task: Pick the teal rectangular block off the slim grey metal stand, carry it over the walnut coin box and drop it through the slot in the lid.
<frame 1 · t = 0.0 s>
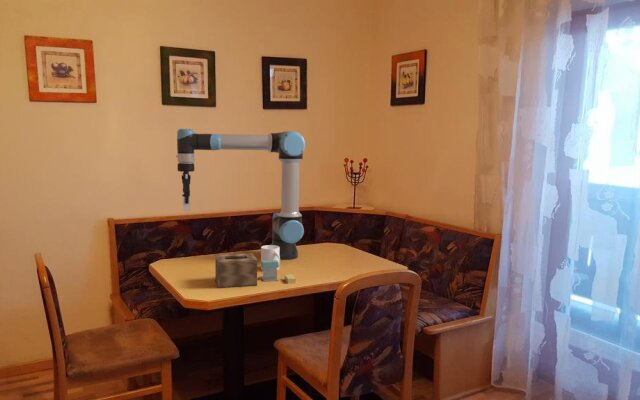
hand: (186, 208, 239), 28 cm above the table, fingers open, 13 cm apart
stand: (269, 279, 226), on the table
white rounded piece: (272, 270, 241), on the table
teal rectangular block: (269, 266, 225), point 6 cm above the table, touching stand
coin box: (235, 282, 219), on the table
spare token: (290, 281, 223), on the table
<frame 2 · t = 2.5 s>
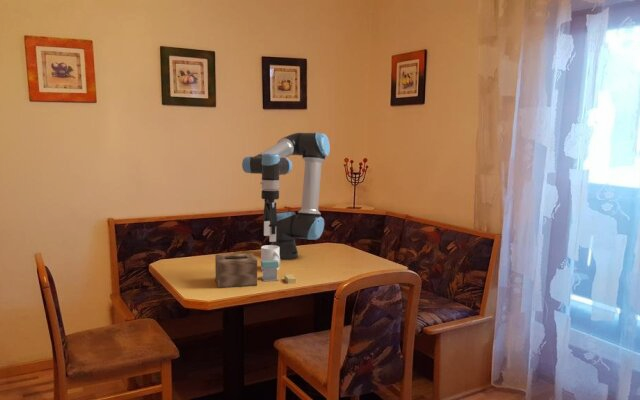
hand: (269, 238, 224), 18 cm above the table, fingers open, 13 cm apart
nothing on the table moved.
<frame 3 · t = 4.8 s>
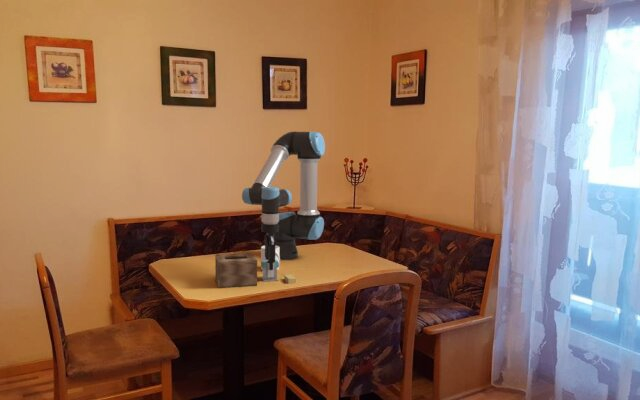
hand: (269, 275, 226), 2 cm above the table, fingers closed on teal rectangular block, 3 cm apart
teal rectangular block: (269, 266, 225), point 6 cm above the table, touching gripper
everything else where it was.
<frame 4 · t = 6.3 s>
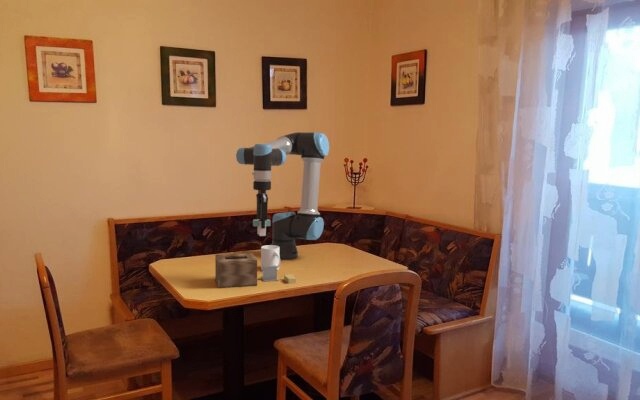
hand: (261, 234, 221), 20 cm above the table, fingers closed on teal rectangular block, 3 cm apart
teal rectangular block: (261, 225, 221), point 24 cm above the table, touching gripper
everything else where it was.
when the fingers open (12 cm above the table, at t = 7.8 s): teal rectangular block drops 16 cm, resting on coin box.
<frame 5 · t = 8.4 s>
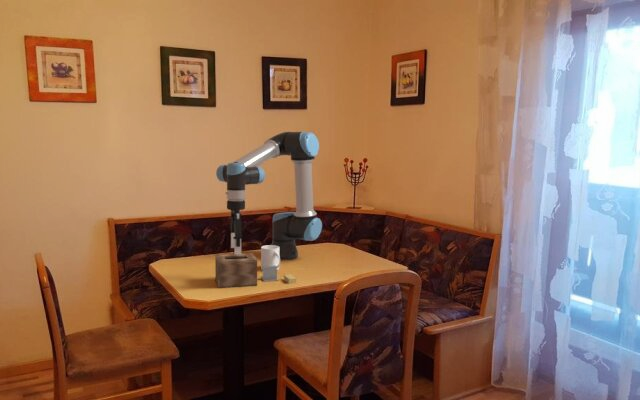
hand: (235, 250, 218), 14 cm above the table, fingers open, 12 cm apart
teal rectangular block: (235, 281, 219), point 1 cm above the table, touching coin box
everything else where it was.
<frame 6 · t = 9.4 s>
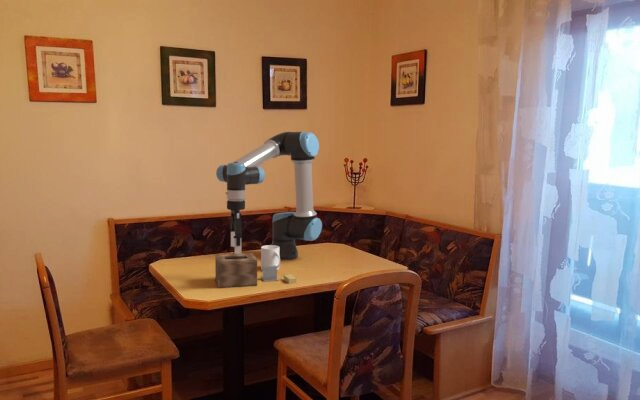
hand: (235, 249, 218), 14 cm above the table, fingers open, 13 cm apart
nothing on the table moved.
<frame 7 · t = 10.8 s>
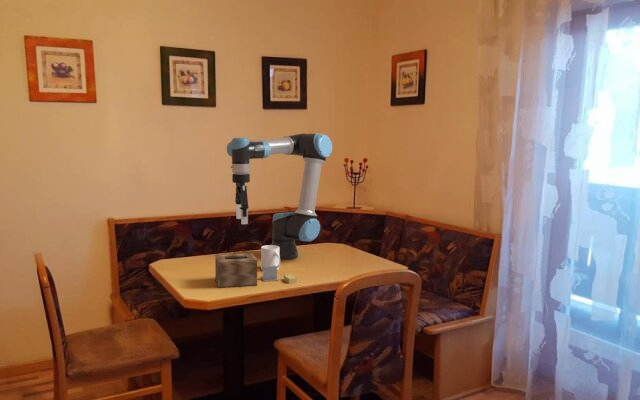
hand: (241, 221, 228), 25 cm above the table, fingers open, 13 cm apart
nothing on the table moved.
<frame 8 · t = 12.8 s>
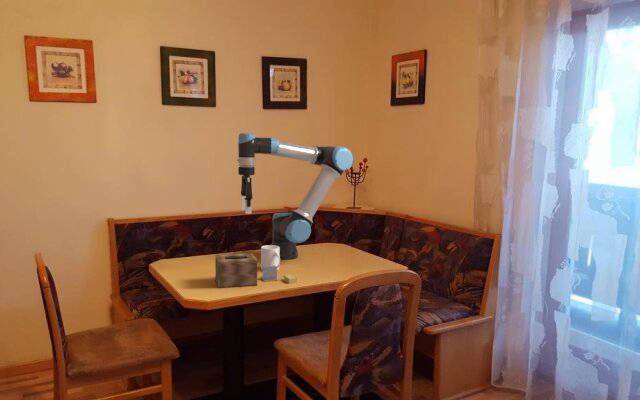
hand: (246, 211, 243), 27 cm above the table, fingers open, 13 cm apart
nothing on the table moved.
at the end: teal rectangular block inside the target area on the coin box (0.0 cm from its centre), point 0.6 cm above the coin box's base; the gripper is holding nothing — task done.
